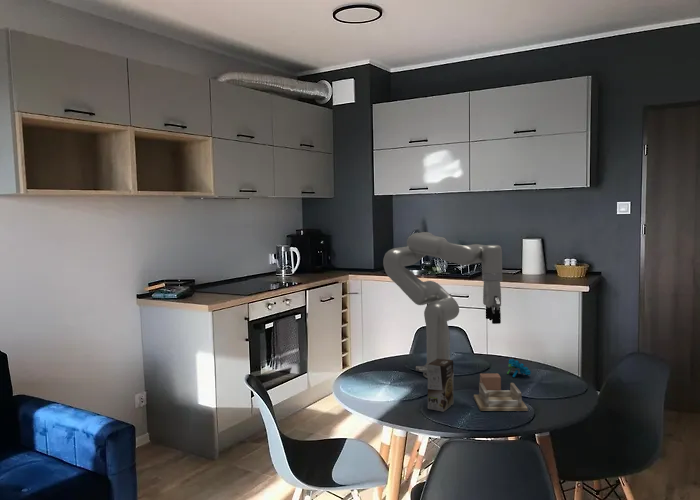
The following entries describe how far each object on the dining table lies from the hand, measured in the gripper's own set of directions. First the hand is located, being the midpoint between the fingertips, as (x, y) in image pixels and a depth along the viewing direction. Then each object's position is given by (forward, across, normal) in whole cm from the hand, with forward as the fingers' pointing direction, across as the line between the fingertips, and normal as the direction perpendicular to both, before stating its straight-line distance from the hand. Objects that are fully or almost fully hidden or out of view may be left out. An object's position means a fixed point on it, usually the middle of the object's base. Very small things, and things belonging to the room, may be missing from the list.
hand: (493, 321), depth 219 cm
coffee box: (+26, +20, -24) cm, 41 cm away
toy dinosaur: (+26, -14, +13) cm, 33 cm away
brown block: (+26, +2, -2) cm, 26 cm away
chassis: (+26, +19, -3) cm, 33 cm away
